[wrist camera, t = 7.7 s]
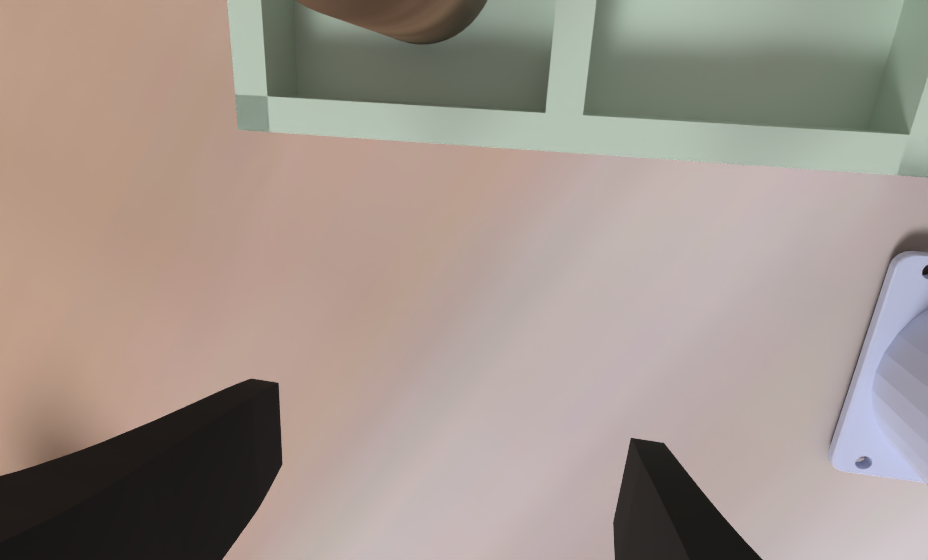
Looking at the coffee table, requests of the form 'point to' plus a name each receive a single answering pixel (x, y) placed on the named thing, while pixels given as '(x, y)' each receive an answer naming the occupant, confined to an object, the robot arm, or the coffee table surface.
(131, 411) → the coffee table surface
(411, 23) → the cylinder
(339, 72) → the holder tray
